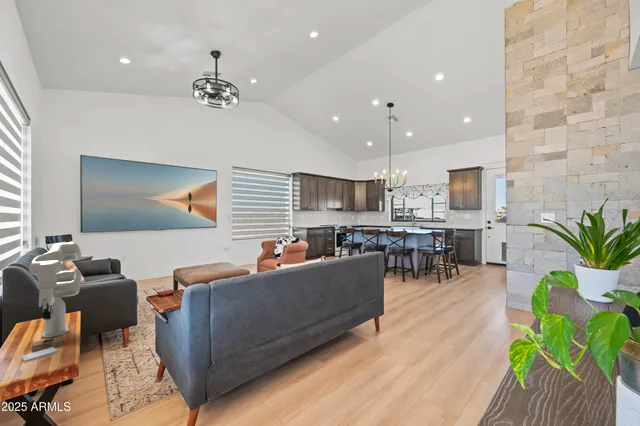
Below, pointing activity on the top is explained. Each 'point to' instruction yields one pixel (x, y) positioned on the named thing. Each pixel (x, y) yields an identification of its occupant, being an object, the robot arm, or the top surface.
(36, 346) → the block with rectangular opening
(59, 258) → the robot arm
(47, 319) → the metal cylinder
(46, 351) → the hard drive
